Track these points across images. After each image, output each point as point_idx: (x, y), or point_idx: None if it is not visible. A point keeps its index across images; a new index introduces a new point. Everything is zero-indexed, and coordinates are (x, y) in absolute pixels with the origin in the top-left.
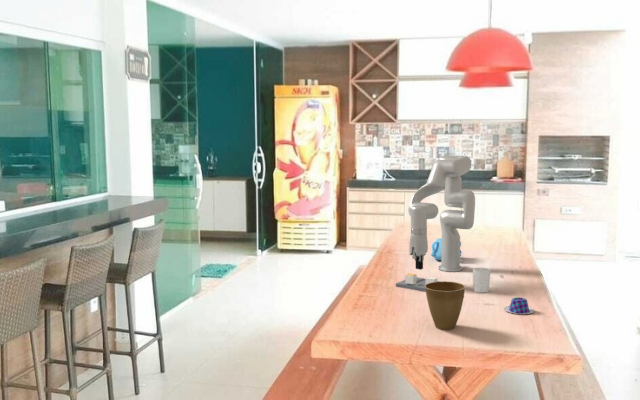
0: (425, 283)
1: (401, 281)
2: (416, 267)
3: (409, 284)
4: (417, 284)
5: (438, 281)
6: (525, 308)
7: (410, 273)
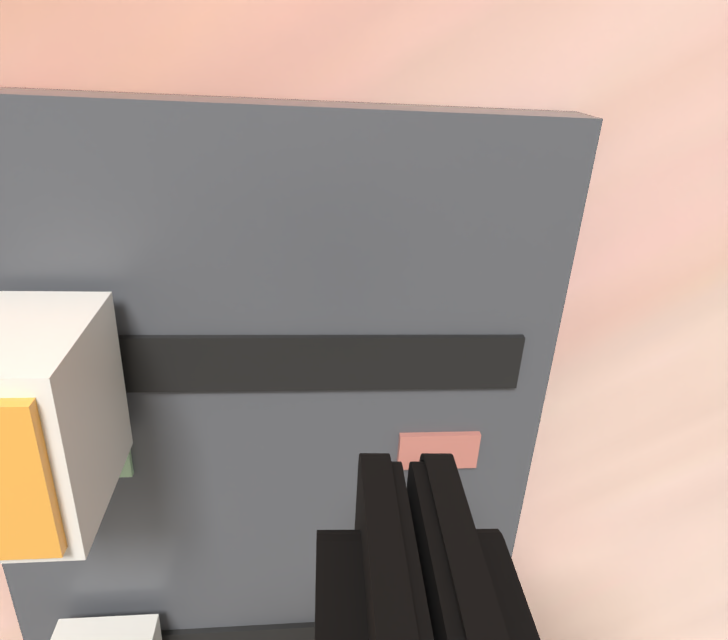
0: (277, 499)
1: (101, 108)
2: (358, 496)
3: None
4: None
5: None
6: None
7: (33, 447)
